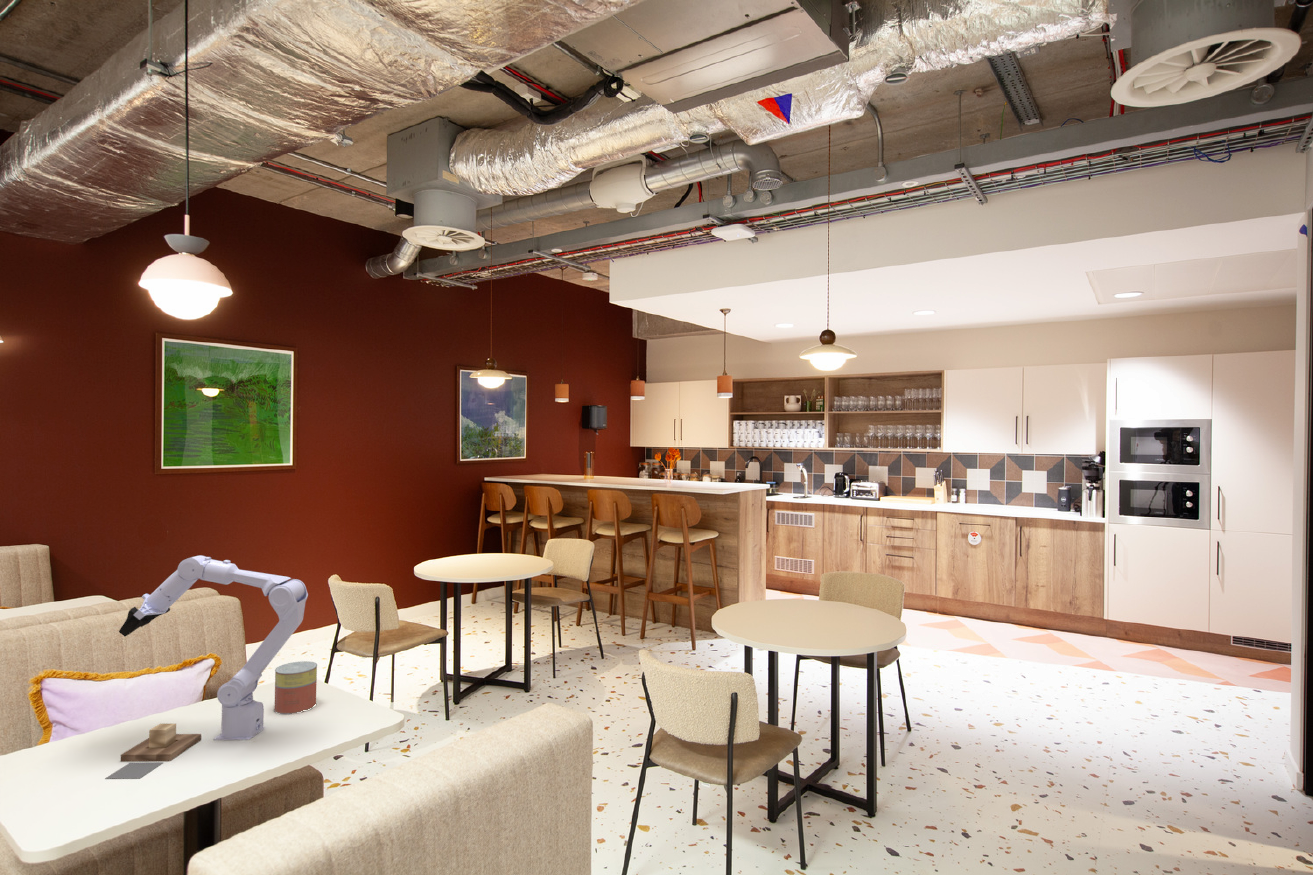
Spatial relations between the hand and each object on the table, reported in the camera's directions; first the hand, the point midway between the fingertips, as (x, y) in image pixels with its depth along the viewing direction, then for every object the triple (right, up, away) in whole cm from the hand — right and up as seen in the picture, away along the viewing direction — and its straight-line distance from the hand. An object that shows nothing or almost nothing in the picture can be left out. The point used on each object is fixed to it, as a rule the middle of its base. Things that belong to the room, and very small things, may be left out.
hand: (130, 628), depth 180 cm
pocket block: (+14, -29, -8) cm, 33 cm away
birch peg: (+14, -29, -8) cm, 33 cm away
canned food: (+32, -30, +23) cm, 50 cm away
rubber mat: (+16, -29, -19) cm, 38 cm away
